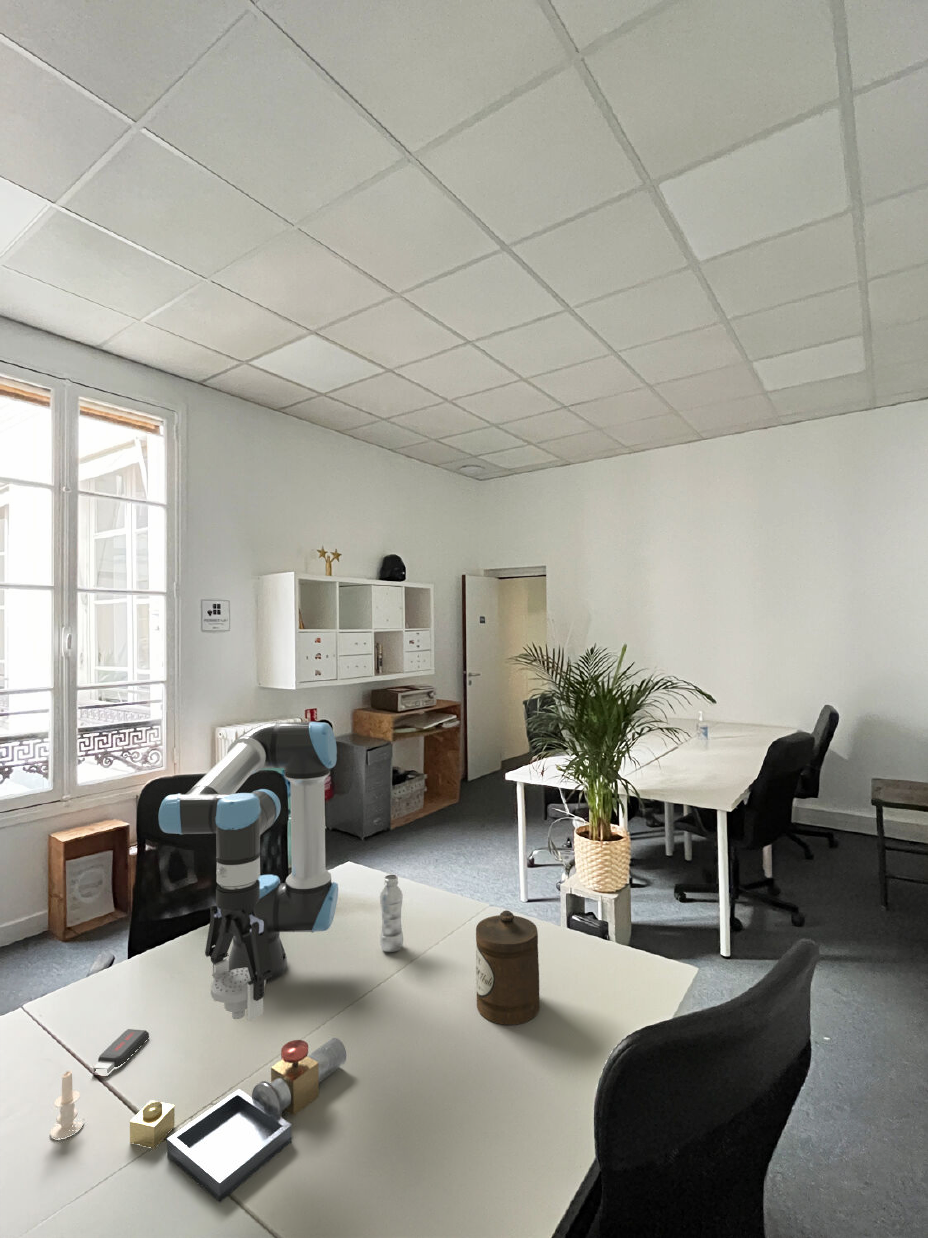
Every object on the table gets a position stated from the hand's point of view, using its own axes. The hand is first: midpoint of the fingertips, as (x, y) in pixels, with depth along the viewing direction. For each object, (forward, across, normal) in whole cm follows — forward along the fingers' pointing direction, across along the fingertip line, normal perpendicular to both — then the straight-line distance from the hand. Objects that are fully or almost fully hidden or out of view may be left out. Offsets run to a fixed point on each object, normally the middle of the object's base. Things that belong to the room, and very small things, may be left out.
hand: (237, 1006), depth 115 cm
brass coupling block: (+21, -10, -10) cm, 25 cm away
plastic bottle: (+20, -18, +62) cm, 68 cm away
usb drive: (+21, -36, -3) cm, 42 cm away
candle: (+21, -24, -18) cm, 37 cm away
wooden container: (+20, +22, +58) cm, 65 cm away
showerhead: (+2, 0, 0) cm, 2 cm away
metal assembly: (+21, +4, +5) cm, 22 cm away
